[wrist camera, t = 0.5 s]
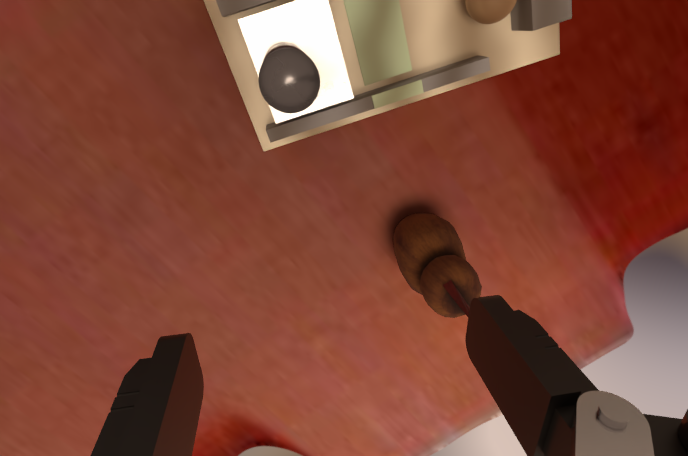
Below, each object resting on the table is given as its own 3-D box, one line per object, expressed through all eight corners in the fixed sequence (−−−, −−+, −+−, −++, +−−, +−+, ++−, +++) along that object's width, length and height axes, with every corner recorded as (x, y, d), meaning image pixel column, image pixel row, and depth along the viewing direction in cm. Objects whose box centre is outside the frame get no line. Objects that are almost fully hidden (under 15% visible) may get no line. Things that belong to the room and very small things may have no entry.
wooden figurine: (380, 212, 39) (434, 309, 26) (437, 195, 39) (520, 282, 26) (393, 268, 42) (447, 379, 29) (445, 252, 42) (523, 356, 29)
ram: (321, -6, 29) (348, -25, 18) (347, 92, 32) (383, 125, 21) (241, 20, 28) (220, 17, 18) (275, 115, 32) (276, 160, 21)
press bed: (546, -121, 29) (586, -143, 25) (551, 53, 34) (584, 56, 31) (202, -9, 29) (191, -14, 25) (264, 147, 34) (262, 162, 31)
